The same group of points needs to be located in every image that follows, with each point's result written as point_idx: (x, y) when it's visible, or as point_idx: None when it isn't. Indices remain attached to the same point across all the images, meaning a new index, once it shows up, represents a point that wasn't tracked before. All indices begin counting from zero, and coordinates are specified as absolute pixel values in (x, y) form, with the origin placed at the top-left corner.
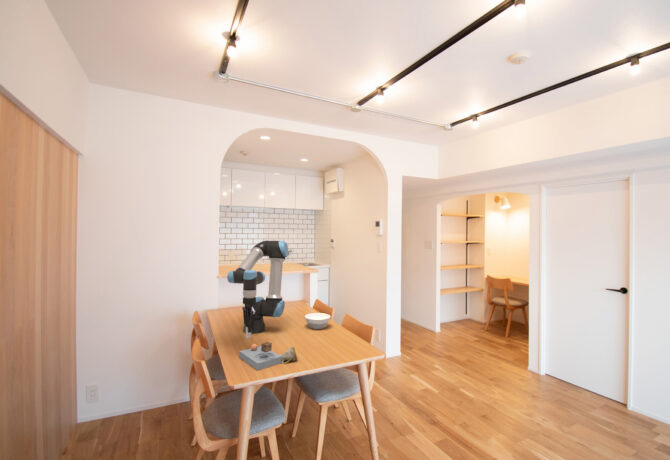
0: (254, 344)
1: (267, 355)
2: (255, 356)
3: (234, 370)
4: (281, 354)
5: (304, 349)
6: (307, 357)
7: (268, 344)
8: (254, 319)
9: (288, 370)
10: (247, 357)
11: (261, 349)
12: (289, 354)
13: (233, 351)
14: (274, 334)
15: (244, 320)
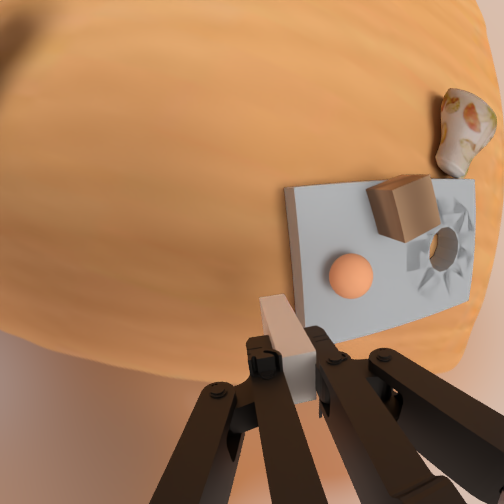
0: (368, 283)
1: (439, 229)
2: (420, 290)
3: None
4: (464, 167)
5: (367, 6)
6: (445, 62)
7: (436, 205)
8: (465, 393)
9: (495, 193)
10: (394, 324)
11: (384, 235)
12: (485, 145)
13: (190, 337)
14: (55, 40)
15: (231, 464)
